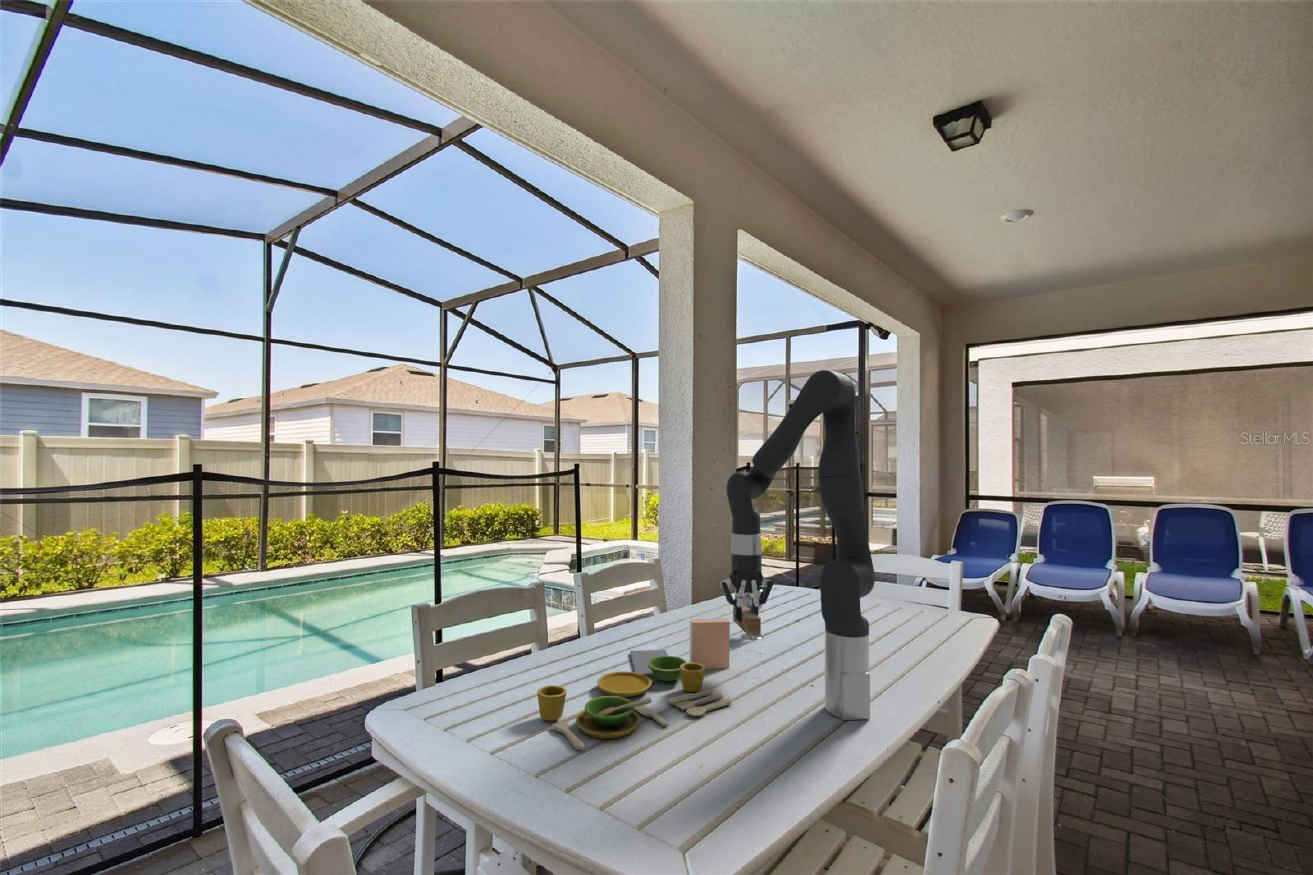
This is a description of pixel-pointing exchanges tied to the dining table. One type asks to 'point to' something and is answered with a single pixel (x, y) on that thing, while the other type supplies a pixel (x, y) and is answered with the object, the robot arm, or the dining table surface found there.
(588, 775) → the dining table surface
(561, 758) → the dining table surface
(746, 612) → the walnut stick
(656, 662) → the tableware set
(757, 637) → the wine glass
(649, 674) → the rubber mat
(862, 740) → the dining table surface
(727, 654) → the terracotta tile
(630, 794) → the dining table surface
